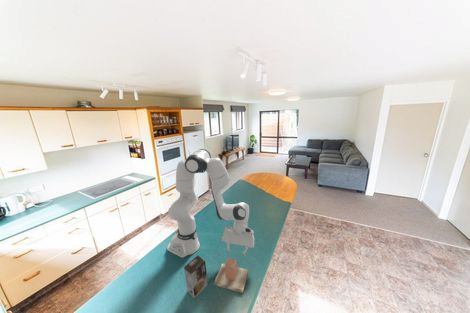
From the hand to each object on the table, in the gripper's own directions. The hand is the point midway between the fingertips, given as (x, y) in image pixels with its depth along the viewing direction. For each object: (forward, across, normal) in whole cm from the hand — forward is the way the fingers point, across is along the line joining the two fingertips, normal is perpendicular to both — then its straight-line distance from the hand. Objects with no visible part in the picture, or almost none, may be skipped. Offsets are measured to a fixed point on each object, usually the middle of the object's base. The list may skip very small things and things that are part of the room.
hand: (235, 253), depth 100 cm
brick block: (+11, 0, -2) cm, 11 cm away
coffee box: (+20, -16, -7) cm, 26 cm away
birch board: (+12, 0, 0) cm, 13 cm away
